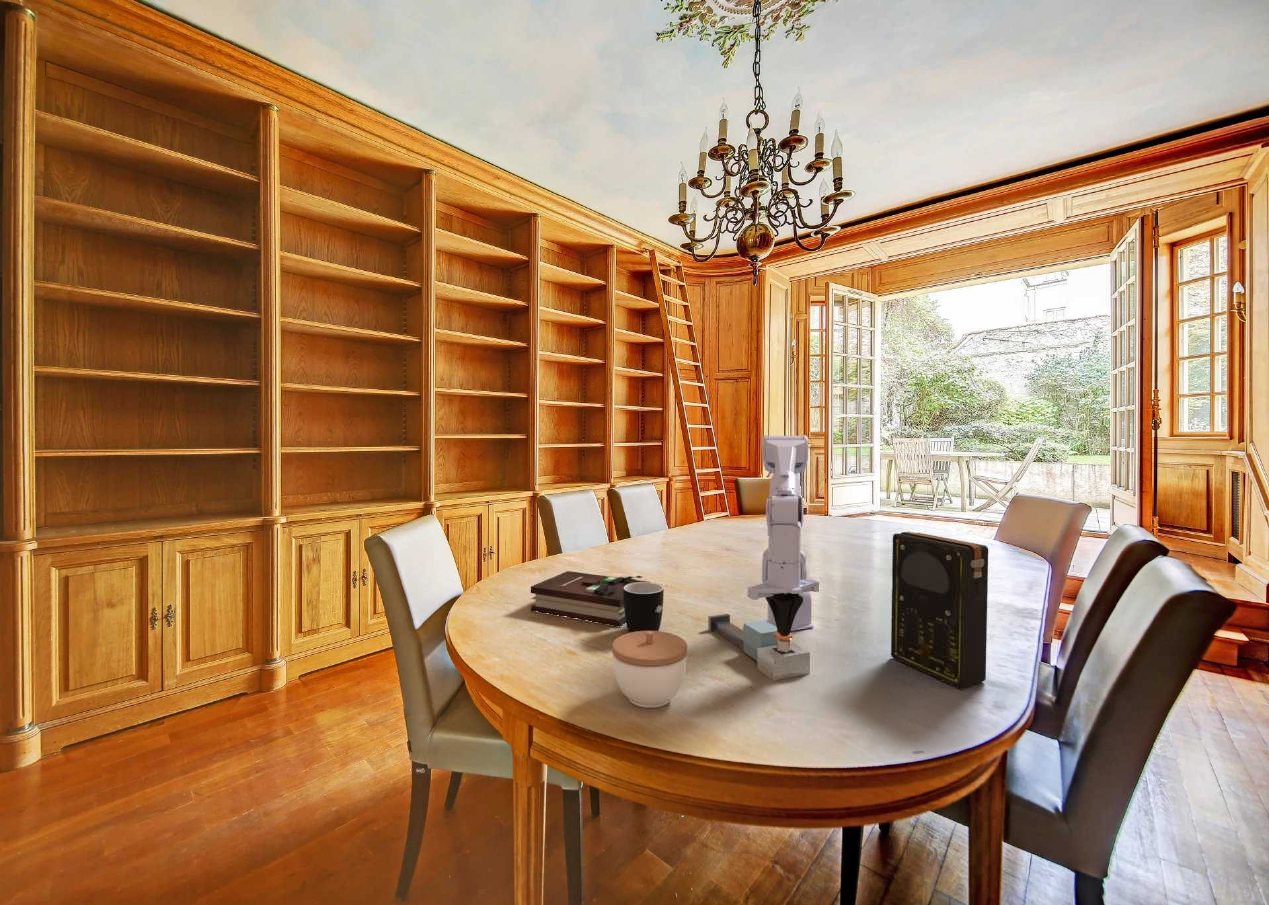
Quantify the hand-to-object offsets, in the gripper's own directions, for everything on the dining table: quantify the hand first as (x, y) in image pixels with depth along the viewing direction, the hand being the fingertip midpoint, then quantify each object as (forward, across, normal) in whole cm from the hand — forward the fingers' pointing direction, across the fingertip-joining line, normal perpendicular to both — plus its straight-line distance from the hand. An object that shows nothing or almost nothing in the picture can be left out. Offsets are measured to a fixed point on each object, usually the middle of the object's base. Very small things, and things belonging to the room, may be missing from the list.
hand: (783, 633), depth 99 cm
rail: (+7, 0, +13) cm, 15 cm away
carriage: (+7, 0, +7) cm, 10 cm away
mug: (+7, -16, +29) cm, 34 cm away
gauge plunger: (+5, 0, 0) cm, 5 cm away
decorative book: (+8, -23, +48) cm, 54 cm away
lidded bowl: (+8, -27, 0) cm, 28 cm away
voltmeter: (+7, +27, -10) cm, 30 cm away
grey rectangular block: (+7, 0, 0) cm, 7 cm away
